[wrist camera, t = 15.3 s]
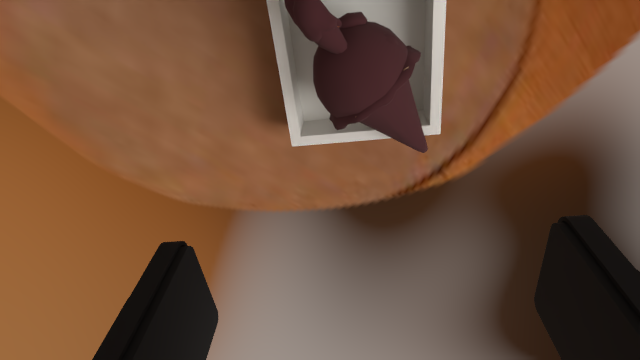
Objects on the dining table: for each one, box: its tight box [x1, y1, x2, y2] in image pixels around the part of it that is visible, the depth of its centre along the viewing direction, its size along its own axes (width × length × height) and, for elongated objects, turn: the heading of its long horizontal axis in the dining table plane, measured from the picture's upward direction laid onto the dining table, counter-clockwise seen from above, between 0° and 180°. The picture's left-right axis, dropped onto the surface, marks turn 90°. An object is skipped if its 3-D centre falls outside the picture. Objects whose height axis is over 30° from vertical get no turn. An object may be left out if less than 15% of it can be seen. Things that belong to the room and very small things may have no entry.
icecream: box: [284, 0, 428, 153], centre depth 27 cm, size 7×7×15 cm
